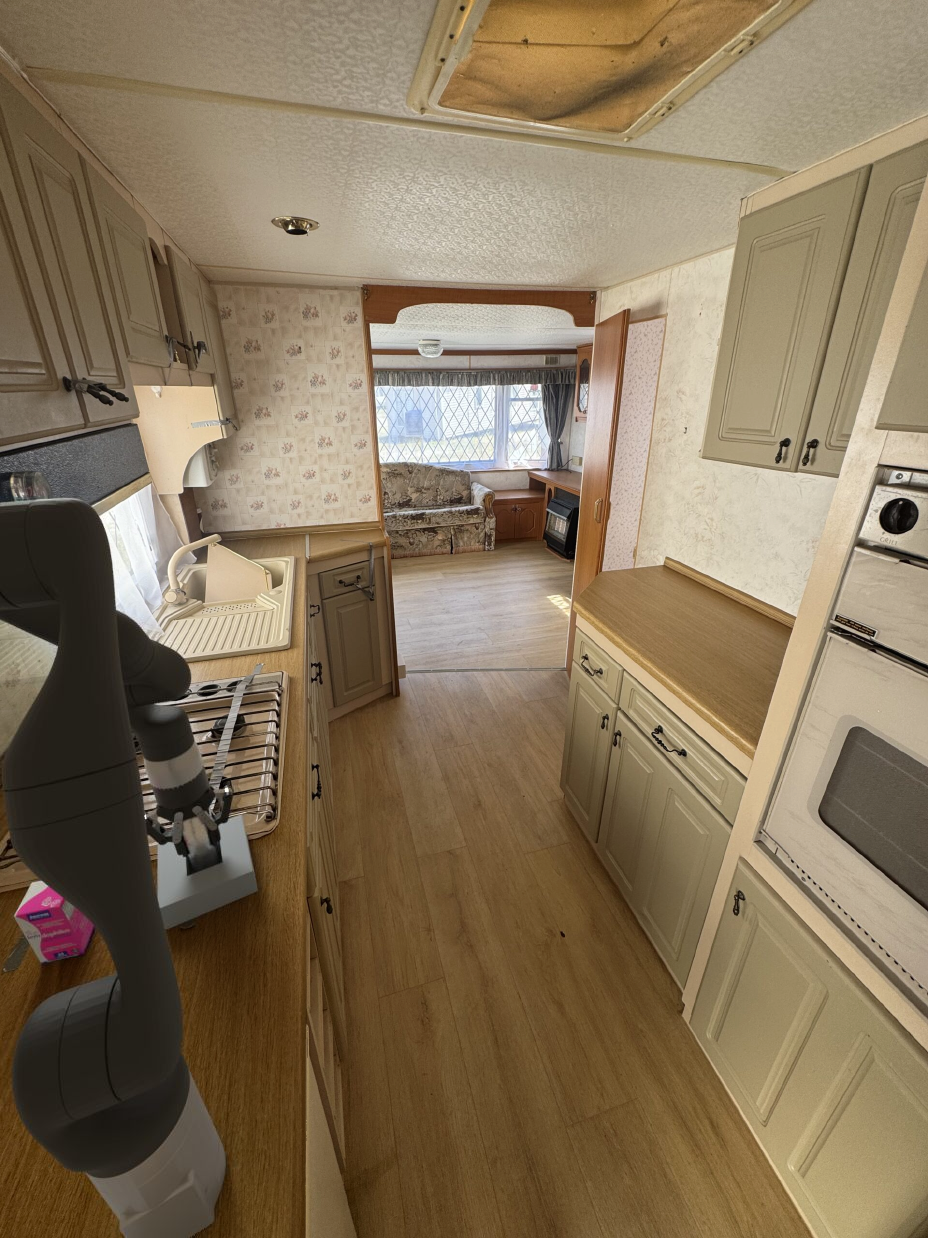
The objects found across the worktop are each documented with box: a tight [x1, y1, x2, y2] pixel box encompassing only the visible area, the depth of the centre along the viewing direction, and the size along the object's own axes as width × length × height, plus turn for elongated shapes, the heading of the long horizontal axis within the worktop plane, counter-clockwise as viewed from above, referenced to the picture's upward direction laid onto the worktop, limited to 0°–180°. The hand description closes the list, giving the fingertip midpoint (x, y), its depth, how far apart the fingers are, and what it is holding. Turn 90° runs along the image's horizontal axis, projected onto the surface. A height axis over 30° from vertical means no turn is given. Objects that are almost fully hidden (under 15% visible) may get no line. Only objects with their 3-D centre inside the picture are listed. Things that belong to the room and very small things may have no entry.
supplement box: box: [13, 880, 96, 965], centre depth 76 cm, size 6×6×12 cm
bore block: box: [157, 814, 259, 931], centre depth 88 cm, size 14×14×5 cm
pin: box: [181, 816, 218, 873], centre depth 85 cm, size 4×4×12 cm
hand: (200, 847), depth 86 cm, fingers closed on pin, 4 cm apart
